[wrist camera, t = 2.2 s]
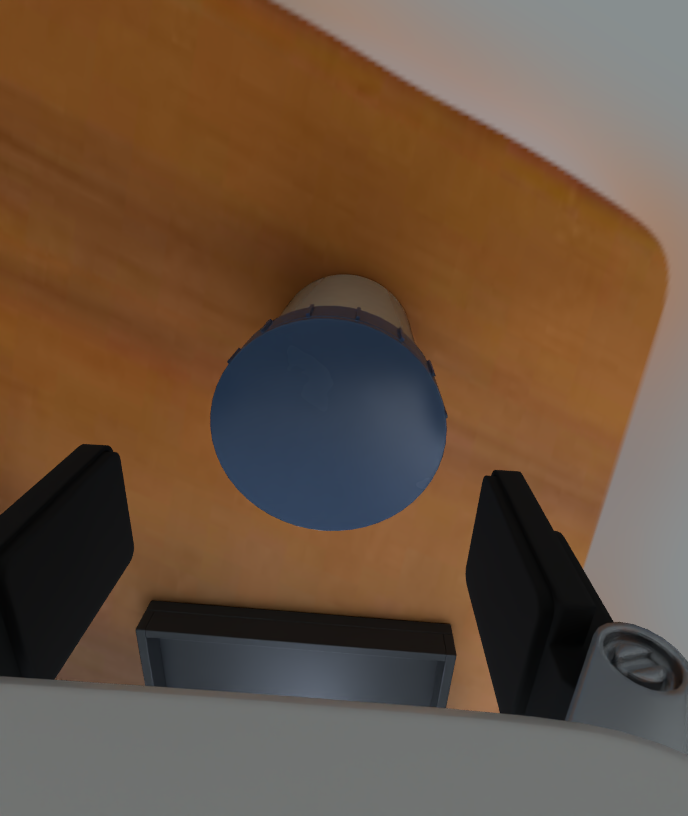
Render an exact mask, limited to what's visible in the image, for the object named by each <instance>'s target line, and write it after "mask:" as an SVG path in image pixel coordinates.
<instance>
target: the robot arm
mask: <svg viewBox="0 0 688 816" xmlns="http://www.w3.org/2000/svg"><path fill="white" fill-rule="evenodd" d="M133 552H134V543H133V536H132V530H131V524H130V517H129V511H128V504H127V498H126V492H125V485H124V479H123V473H122V466H121V460H120V456H119V454H118V453H117V452H113V450H112V448H111V447H110V446H106V445H90V444H82V445H80V446H79V447H78V448H77V449H76V450H74V451H73V452H72V453H71V454H70V455H69V456H68V457H66V458H65V459H64V460H63V461H62V462H61V463H60V464H58V465H57V466H56V467H55V468H54V469H53V470H52V471H50V472H49V473H48V474H47V475H46V476H45V477H44V478H42V479H41V480H40V481H39V482H38V483H37V484H36V485H34V486H33V487H32V488H31V489H30V490H29V491H28V492H26V493H25V494H24V495H23V496H22V497H21V498H20V499H18V500H17V501H16V502H15V503H14V504H13V505H12V506H10V507H9V508H8V509H7V510H6V511H5V512H3V513H2V514H1V515H0V816H688V662H687V660H686V659H685V658H684V657H683V656H682V655H681V653H680V652H679V651H678V650H677V649H676V648H675V647H674V646H672V645H671V644H670V643H669V642H667V641H666V640H665V639H663V638H662V637H660V636H658V635H656V634H655V633H653V632H651V631H649V630H648V629H645V628H642V627H639V626H636V625H634V624H629V623H622V622H613V620H612V618H611V617H610V615H609V613H608V612H607V610H606V608H605V606H604V605H603V603H602V601H601V599H600V598H599V596H598V594H597V593H596V591H595V589H594V588H593V586H592V584H591V582H590V581H589V579H588V577H587V575H586V574H585V572H584V570H583V569H582V567H581V565H580V563H579V562H578V560H577V558H576V556H575V555H574V553H573V551H572V550H571V548H570V546H569V544H568V543H567V541H566V539H565V538H564V536H563V535H562V534H561V533H560V532H558V531H554V530H553V528H552V527H551V525H550V523H549V521H548V519H547V518H546V516H545V514H544V512H543V511H542V509H541V507H540V505H539V503H538V502H537V500H536V498H535V496H534V495H533V493H532V491H531V489H530V487H529V486H528V484H527V482H526V480H525V479H524V477H523V475H522V474H521V472H518V471H503V470H494V471H493V473H492V475H491V476H485V477H484V478H483V482H482V487H481V492H480V498H479V503H478V508H477V513H476V518H475V524H474V529H473V534H472V539H471V544H470V550H469V555H468V560H467V565H466V583H467V588H468V591H469V595H470V599H471V603H472V607H473V611H474V614H475V618H476V622H477V626H478V630H479V634H480V637H481V641H482V645H483V649H484V653H485V657H486V661H487V664H488V668H489V672H490V676H491V680H492V684H493V687H494V691H495V695H496V699H497V703H498V707H499V711H500V713H490V712H480V711H469V710H459V709H448V708H436V707H423V706H411V705H398V704H385V703H372V702H359V701H346V700H333V699H321V698H308V697H294V696H280V695H267V694H253V693H239V692H226V691H212V690H197V689H183V688H169V687H155V686H141V685H126V684H111V683H95V682H80V681H65V680H54V679H55V678H56V676H57V675H58V673H59V672H60V670H61V668H62V667H63V665H64V664H65V662H66V661H67V659H68V658H69V656H70V654H71V653H72V651H73V650H74V648H75V647H76V645H77V644H78V642H79V640H80V639H81V637H82V636H83V634H84V633H85V631H86V630H87V628H88V627H89V625H90V623H91V622H92V620H93V619H94V617H95V616H96V614H97V613H98V611H99V609H100V608H101V606H102V605H103V603H104V602H105V600H106V599H107V597H108V595H109V594H110V592H111V591H112V589H113V588H114V586H115V585H116V583H117V581H118V580H119V578H120V577H121V575H122V574H123V572H124V571H125V569H126V567H127V566H128V564H129V563H130V561H131V559H132V556H133Z"/></svg>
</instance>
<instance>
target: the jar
mask: <svg viewBox="0 0 688 816" xmlns="http://www.w3.org/2000/svg"><path fill="white" fill-rule="evenodd" d="M311 304H314V307H315V306H342V307H350V308H355V309H357V307H360V308H361V310H362V311H366V312H368V313H371V314H373V315H376V316H378V317H381V318H382V319H384V320H386V321H388V322H389V323H391V324H393V325H394V326H396V327H397V328H399V327H401V328H402V329H403V333H405V334H406V335H407V336H408V337H409V338H410V339H411V340H412V341H413V342H414V339H413V336H412V332H411V328H410V325H409V321H408V319H407V316H406V313H405V311H404V310H403V308H402V306H401V304H400V303H399V302H398V300H397V299H396V298H395V297H394V296H393V295H392V294H391V293H390V292H389V291H388V290H387V289H385V288H384V287H383V286H381V285H380V284H378V283H376V282H374V281H372V280H370V279H367V278H364V277H360V276H356V275H333V276H328V277H324V278H321V279H319V280H316V281H314V282H312V283H311V284H309V285H307V286H306V287H304V288H303V289H302V290H301V291H299V292H298V293H297V294H296V296H295V297H294V298H293V299H292V300H291V301H290V303H289V304H288V305H287V307H286V308H285V309H284V311H283V312H282V313H281V315H280V316H283V315H285V314H287V313H289V312H292V311H296V310H299V309H303V308H308V307H310V305H311ZM280 316H279V317H280Z"/></svg>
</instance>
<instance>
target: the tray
mask: <svg viewBox="0 0 688 816" xmlns="http://www.w3.org/2000/svg"><path fill="white" fill-rule="evenodd" d="M136 635H137V641H138V647H139V652H140V658H141V664H142V669H143V675H144V681H145V686H155V687H169V688H183V689H197V690H212V691H226V692H239V693H253V694H267V695H280V696H294V697H308V698H321V699H333V700H346V701H359V702H372V703H385V704H398V705H411V706H423V707H436V708H446V704H447V699H448V695H449V690H450V685H451V680H452V675H453V670H454V665H455V660H456V650H455V645H454V639H453V634H452V629H451V625H450V624H439V623H426V622H414V621H401V620H388V619H376V618H363V617H351V616H338V615H325V614H313V613H300V612H288V611H275V610H262V609H250V608H237V607H225V606H212V605H199V604H187V603H174V602H162V601H151V602H150V604H149V606H148V607H147V609H146V611H145V613H144V615H143V617H142V619H141V620H140V622H139V624H138V626H137V628H136Z"/></svg>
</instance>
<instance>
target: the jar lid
mask: <svg viewBox="0 0 688 816" xmlns="http://www.w3.org/2000/svg"><path fill="white" fill-rule="evenodd" d="M227 362H228V363H229V364H228V366H227V367H226V369H225V370H224V372H223V374H222V376H221V378H220V380H219V382H218V384H217V386H216V390H215V393H214V396H213V400H212V406H211V413H210V427H211V434H212V441H213V444H214V448H215V451H216V454H217V457H218V459H219V461H220V464H221V466H222V468H223V469H224V471H225V473H226V474H227V476H228V478H229V479H230V480H231V482H232V483H233V484H234V485H235V487H236V488H237V489H238V490H239V491H240V492H241V493H242V494H243V495H244V496H245V497H246V498H247V499H248V500H249V501H251V502H252V503H253V504H254V505H256V506H257V507H258V508H260V509H261V510H263V511H265V512H266V513H268V514H270V515H271V516H274V517H276V518H278V519H280V520H282V521H285V522H287V523H290V524H293V525H296V526H300V527H304V528H309V529H316V530H323V531H341V530H352V529H357V528H362V527H366V526H369V525H373V524H376V523H379V522H381V521H383V520H385V519H388V518H390V517H392V516H393V515H395V514H397V513H398V512H400V511H402V510H403V509H404V508H406V507H407V506H408V505H410V504H411V503H412V502H413V501H414V500H415V499H416V498H417V497H418V496H419V495H420V494H421V493H422V492H423V491H424V490H425V488H426V487H427V486H428V484H429V483H430V482H431V480H432V478H433V477H434V475H435V473H436V471H437V469H438V467H439V464H440V462H441V459H442V457H443V452H444V448H445V444H446V432H447V426H446V418H447V413H446V410H445V407H444V404H443V401H442V398H441V395H440V392H439V389H438V386H437V383H436V380H435V377H434V376H435V373H434V370H433V367H432V364H431V361H430V360H428V361H427V360H426V358H425V356H424V355H423V353H422V352H421V351H420V349H419V348H418V347H417V345H416V344H415V343H414V342H413V341H412V340H411V339H410V338H409V337H408V336H407V335H406V334H405V333H403V329H402V328H401V327H399V328H397V327H396V326H394V325H393V324H391V323H389V322H388V321H386V320H384V319H382V318H381V317H378V316H376V315H373V314H371V313H368V312H366V311H362V310H361V308H360V307H357V309H355V308H350V307H342V306H315V307H314V304H311V305H310V307H308V308H303V309H299V310H296V311H292V312H289V313H287V314H285V315H283V316H280V317H278V318H276V319H274V320H273V321H272V320H271V319H269V320H268V321H267V322H266V323H265V325H264V326H263V327H262V328H261V329H260V330H259V331H257V332H256V333H255V334H254V335H253V336H252V337H251V338H250V339H249V340H248V341H247V342H246V344H245V345H244V346H243V347H242V348H241V349H240V348H238V349H237V351H236V352H235V353H234V354H233V355H232V356H231V358H230V359H229V360H228V361H227Z"/></svg>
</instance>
